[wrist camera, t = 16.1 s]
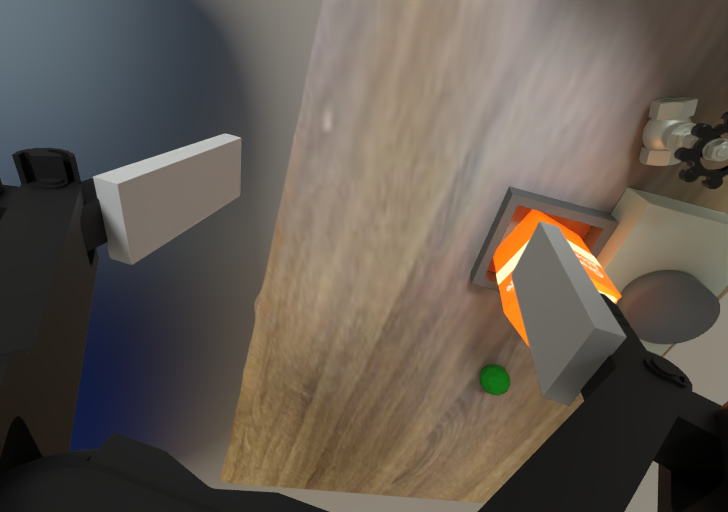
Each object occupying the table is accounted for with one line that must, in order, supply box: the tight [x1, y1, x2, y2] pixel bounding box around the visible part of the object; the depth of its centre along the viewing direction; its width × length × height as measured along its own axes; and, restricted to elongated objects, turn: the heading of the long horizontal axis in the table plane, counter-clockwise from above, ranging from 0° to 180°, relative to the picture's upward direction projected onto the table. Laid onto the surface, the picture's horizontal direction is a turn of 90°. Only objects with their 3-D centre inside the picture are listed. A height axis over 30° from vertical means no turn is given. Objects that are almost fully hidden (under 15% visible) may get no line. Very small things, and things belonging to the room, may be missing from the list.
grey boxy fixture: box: [471, 187, 728, 356], centre depth 46 cm, size 22×26×9 cm
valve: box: [639, 97, 728, 189], centre depth 35 cm, size 7×7×12 cm
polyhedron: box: [480, 365, 511, 395], centre depth 61 cm, size 5×5×5 cm
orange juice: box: [493, 209, 622, 348], centre depth 42 cm, size 8×9×20 cm
